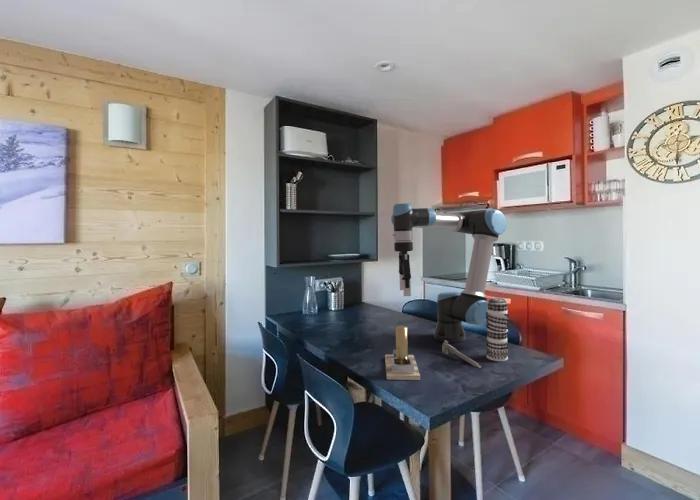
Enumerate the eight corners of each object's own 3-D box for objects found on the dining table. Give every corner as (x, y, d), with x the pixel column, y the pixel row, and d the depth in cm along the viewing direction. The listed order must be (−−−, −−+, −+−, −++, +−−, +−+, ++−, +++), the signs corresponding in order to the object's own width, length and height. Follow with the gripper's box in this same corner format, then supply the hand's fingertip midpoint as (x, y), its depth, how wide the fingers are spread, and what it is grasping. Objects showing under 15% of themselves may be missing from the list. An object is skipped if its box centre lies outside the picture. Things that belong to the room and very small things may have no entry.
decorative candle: (500, 353, 153) (500, 296, 152) (513, 360, 144) (514, 300, 142) (481, 354, 151) (481, 297, 150) (493, 362, 142) (493, 301, 141)
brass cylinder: (407, 367, 134) (406, 325, 134) (408, 371, 130) (408, 328, 129) (396, 366, 135) (395, 325, 134) (396, 371, 130) (396, 328, 130)
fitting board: (420, 380, 126) (420, 367, 126) (386, 379, 127) (386, 367, 127) (413, 358, 148) (413, 347, 148) (385, 358, 149) (384, 347, 149)
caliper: (442, 353, 154) (442, 339, 154) (444, 353, 155) (443, 339, 154) (479, 368, 136) (479, 353, 136) (481, 368, 137) (481, 352, 136)
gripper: (391, 240, 156) (393, 287, 157) (397, 243, 131) (399, 299, 132) (408, 240, 156) (410, 287, 157) (417, 242, 131) (419, 298, 132)
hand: (405, 292), depth 145 cm, fingers open, 13 cm apart
